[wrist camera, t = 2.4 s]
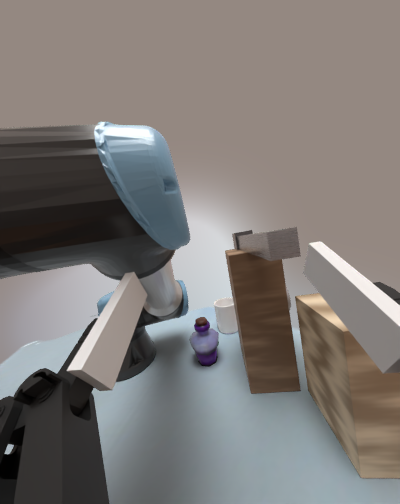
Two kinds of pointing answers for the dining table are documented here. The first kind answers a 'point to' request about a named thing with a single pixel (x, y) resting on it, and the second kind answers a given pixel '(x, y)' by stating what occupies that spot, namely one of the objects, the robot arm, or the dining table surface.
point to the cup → (226, 315)
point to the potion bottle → (204, 342)
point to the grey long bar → (269, 243)
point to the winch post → (263, 322)
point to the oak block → (350, 390)
